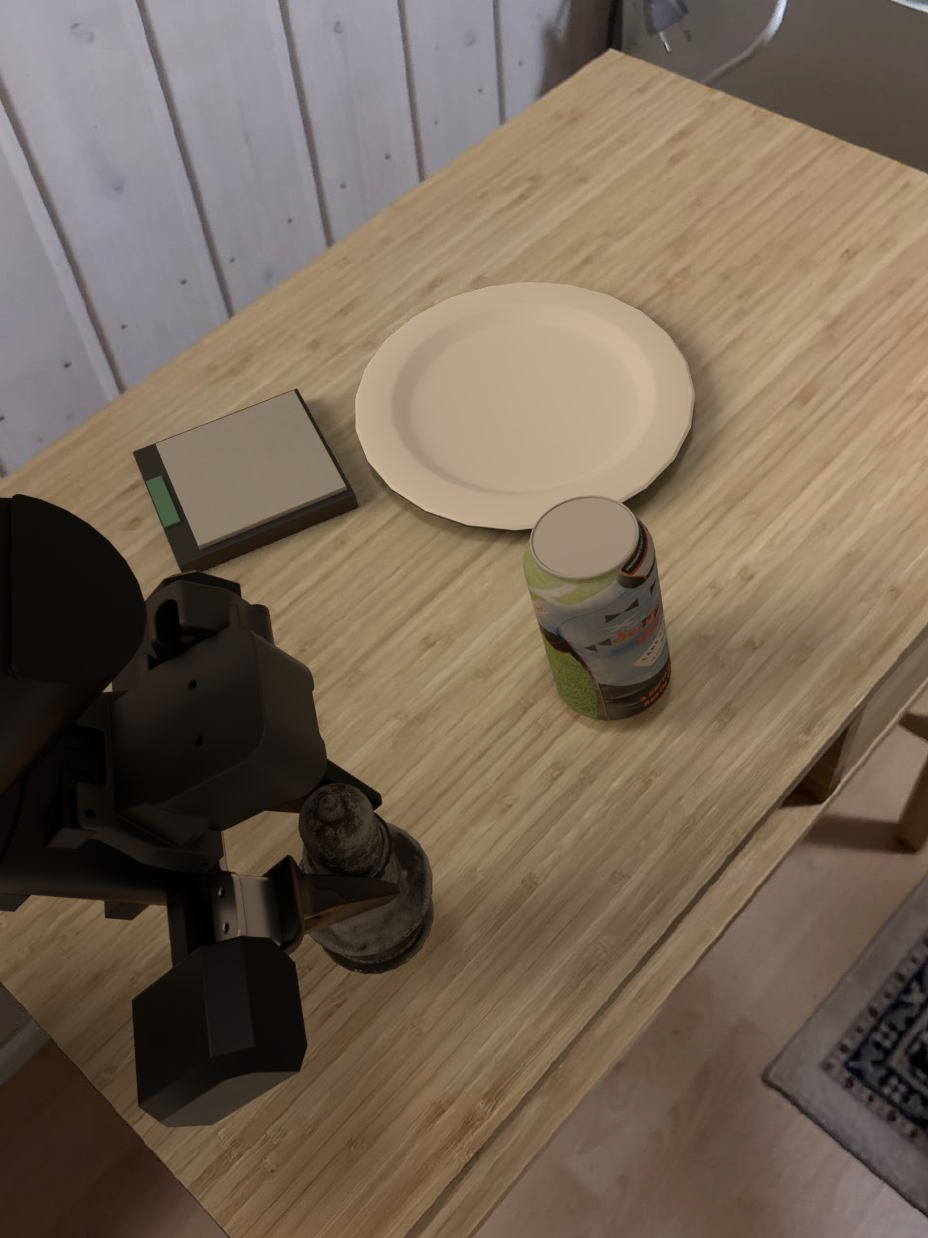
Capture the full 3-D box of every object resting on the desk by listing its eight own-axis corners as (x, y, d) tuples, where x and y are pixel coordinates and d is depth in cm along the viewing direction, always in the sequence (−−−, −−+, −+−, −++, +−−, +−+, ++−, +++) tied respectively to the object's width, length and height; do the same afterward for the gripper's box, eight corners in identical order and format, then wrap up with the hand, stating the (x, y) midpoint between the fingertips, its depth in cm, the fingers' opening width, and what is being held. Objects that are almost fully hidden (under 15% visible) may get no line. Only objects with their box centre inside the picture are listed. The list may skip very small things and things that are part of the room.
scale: (184, 578, 66) (176, 562, 65) (138, 464, 72) (129, 447, 71) (358, 507, 68) (354, 489, 67) (300, 401, 74) (295, 383, 72)
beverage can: (652, 746, 58) (665, 613, 48) (514, 708, 60) (500, 573, 50) (683, 646, 61) (702, 502, 51) (551, 612, 63) (545, 467, 53)
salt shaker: (285, 953, 50) (215, 844, 40) (343, 834, 53) (291, 706, 43) (408, 1001, 48) (367, 901, 38) (460, 877, 51) (435, 753, 41)
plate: (761, 457, 68) (765, 437, 66) (445, 599, 64) (442, 582, 63) (587, 260, 79) (587, 239, 77) (308, 372, 75) (303, 352, 74)
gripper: (132, 994, 26) (595, 1007, 36) (95, 414, 36) (461, 548, 46) (-60, 1145, 32) (382, 1120, 42) (-44, 610, 42) (306, 692, 52)
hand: (385, 849), depth 45 cm, fingers closed on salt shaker, 3 cm apart
